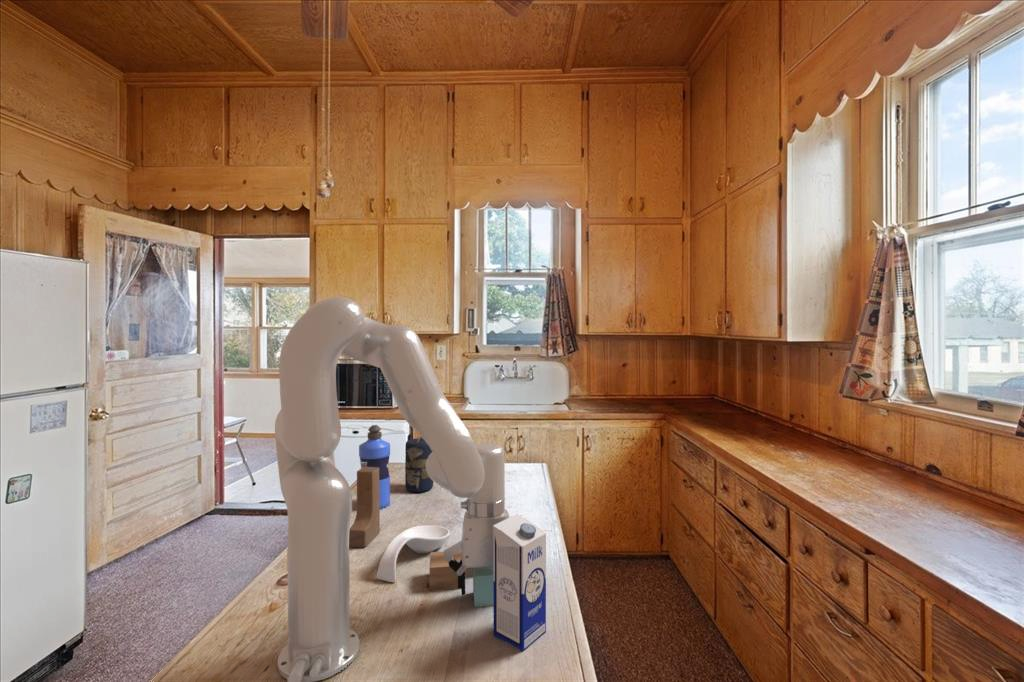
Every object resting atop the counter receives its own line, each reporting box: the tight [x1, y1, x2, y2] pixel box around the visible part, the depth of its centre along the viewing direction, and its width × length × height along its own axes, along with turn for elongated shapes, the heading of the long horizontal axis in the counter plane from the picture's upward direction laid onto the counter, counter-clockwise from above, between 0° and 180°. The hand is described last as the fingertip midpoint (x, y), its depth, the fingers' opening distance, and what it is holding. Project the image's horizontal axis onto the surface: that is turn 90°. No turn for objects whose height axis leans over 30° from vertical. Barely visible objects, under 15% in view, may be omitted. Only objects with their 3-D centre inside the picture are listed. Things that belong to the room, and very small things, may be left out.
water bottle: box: [358, 424, 391, 510], centre depth 146 cm, size 9×9×25 cm
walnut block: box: [429, 550, 462, 592], centre depth 102 cm, size 7×7×5 cm
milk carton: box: [493, 513, 547, 652], centre depth 84 cm, size 7×7×20 cm
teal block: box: [472, 566, 494, 607], centre depth 95 cm, size 5×5×6 cm
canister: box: [404, 436, 434, 493], centre depth 161 cm, size 10×10×18 cm
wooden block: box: [349, 467, 381, 549], centre depth 121 cm, size 9×4×18 cm, turn 172°
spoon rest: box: [376, 524, 451, 583], centre depth 112 cm, size 24×12×7 cm, turn 162°
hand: (486, 589), depth 95 cm, fingers open, 9 cm apart
